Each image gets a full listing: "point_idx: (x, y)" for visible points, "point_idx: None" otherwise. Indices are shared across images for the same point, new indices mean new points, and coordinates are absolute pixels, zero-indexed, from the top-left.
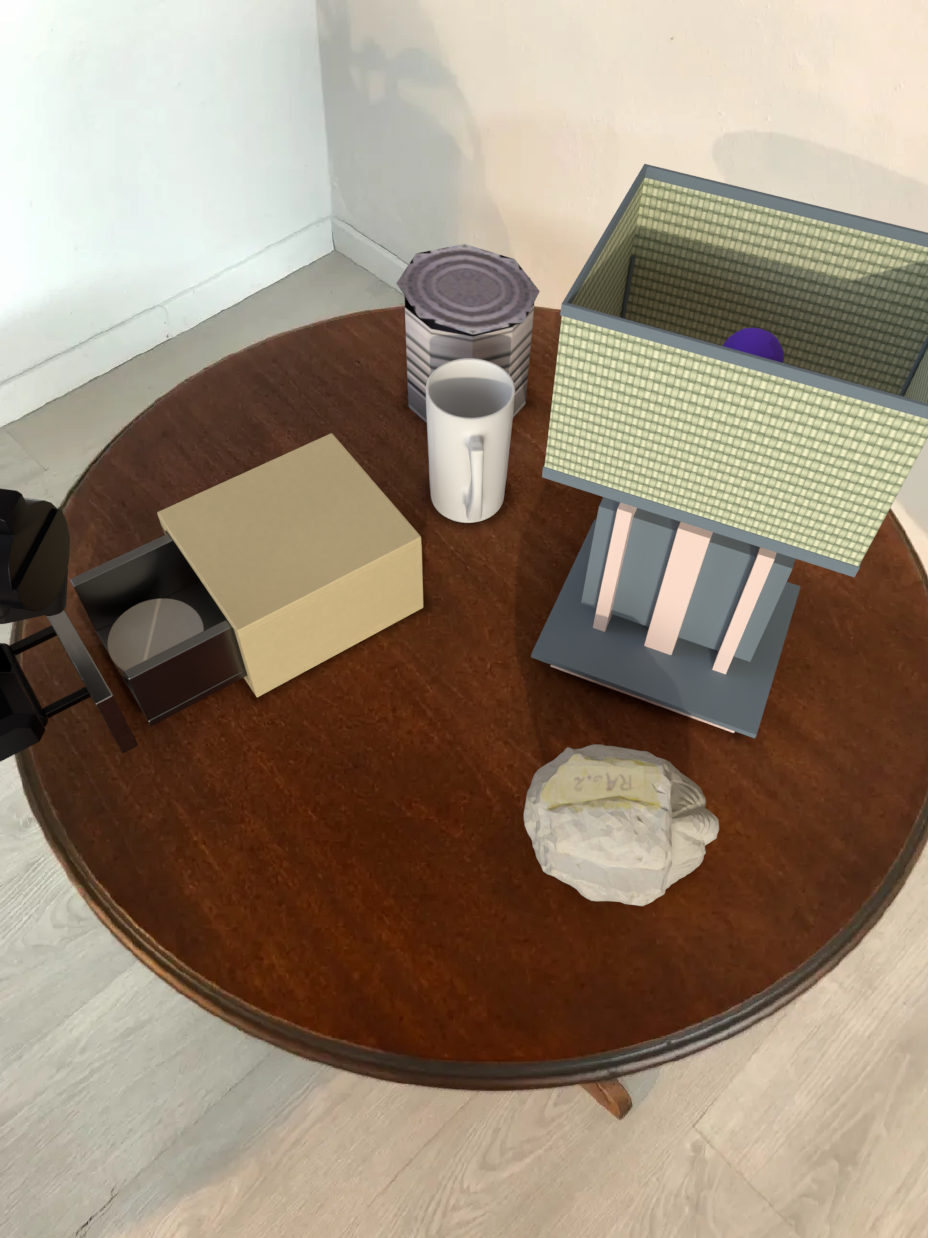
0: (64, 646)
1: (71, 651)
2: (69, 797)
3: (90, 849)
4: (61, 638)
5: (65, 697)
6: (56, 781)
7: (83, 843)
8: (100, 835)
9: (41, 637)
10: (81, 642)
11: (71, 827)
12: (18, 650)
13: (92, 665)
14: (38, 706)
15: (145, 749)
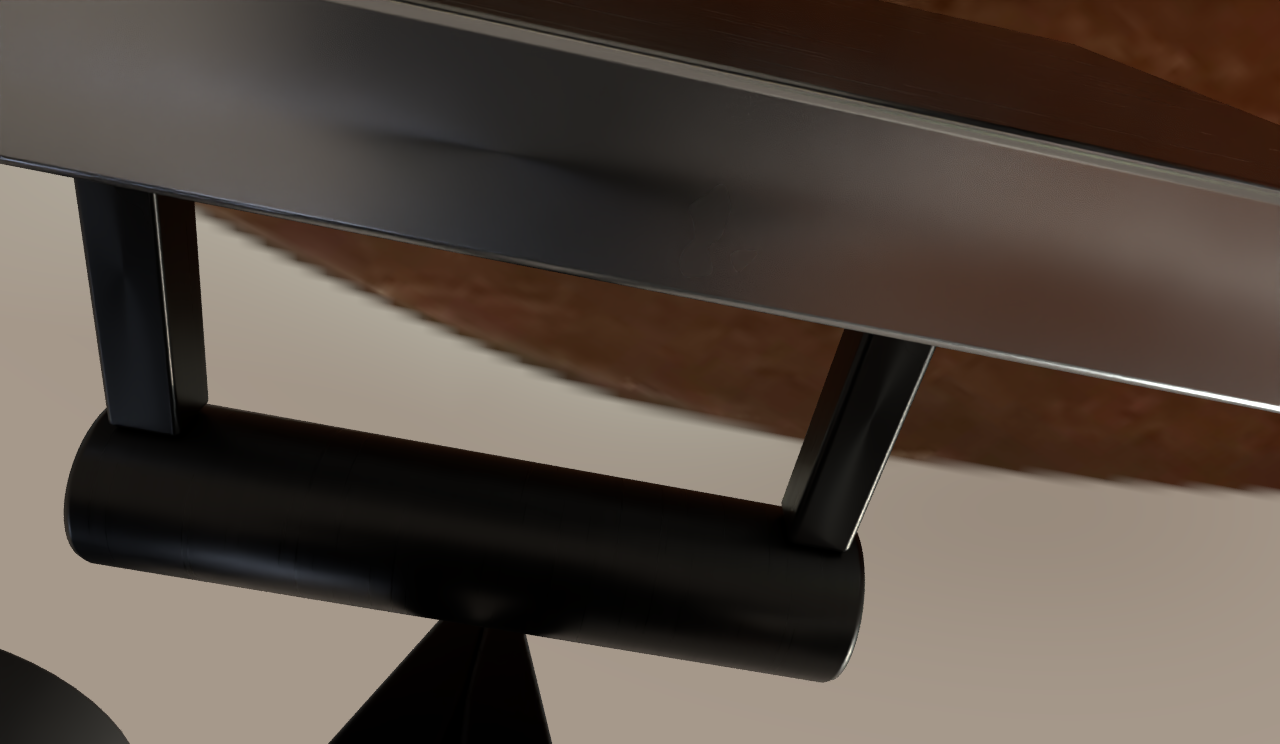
0: (553, 263)
1: (691, 253)
2: (923, 396)
3: (1164, 458)
4: (422, 227)
5: (850, 402)
6: (820, 391)
7: (1121, 461)
8: (1161, 405)
9: (159, 216)
10: (655, 70)
11: (1029, 455)
12: (187, 393)
13: (1088, 191)
14: (768, 564)
15: (1050, 9)
